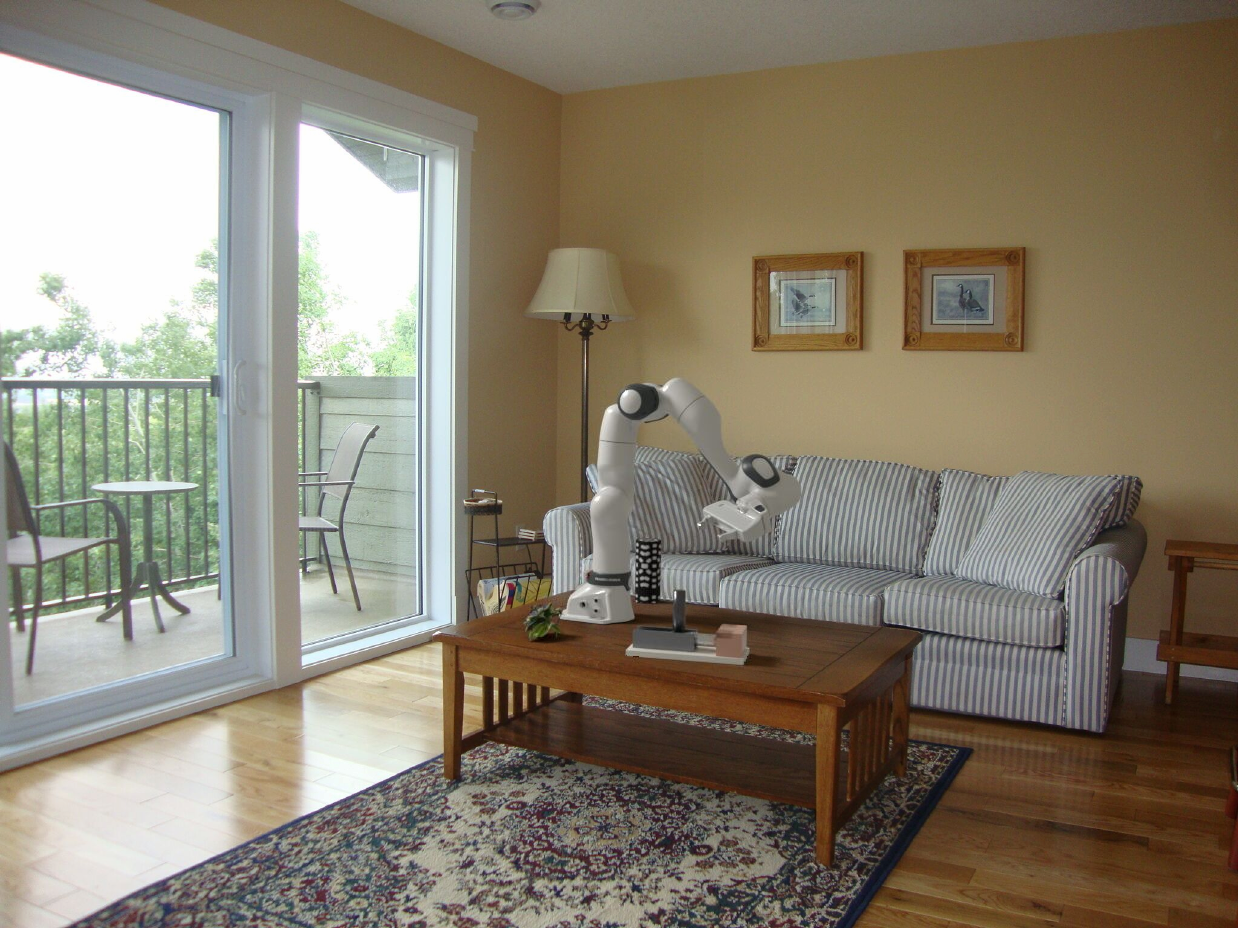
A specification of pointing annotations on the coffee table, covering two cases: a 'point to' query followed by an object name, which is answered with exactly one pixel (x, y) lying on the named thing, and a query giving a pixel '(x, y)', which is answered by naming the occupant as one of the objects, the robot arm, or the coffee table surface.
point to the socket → (731, 640)
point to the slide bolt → (679, 620)
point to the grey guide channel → (664, 638)
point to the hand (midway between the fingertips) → (708, 533)
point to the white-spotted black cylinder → (648, 570)
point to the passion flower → (542, 620)
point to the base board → (687, 655)
